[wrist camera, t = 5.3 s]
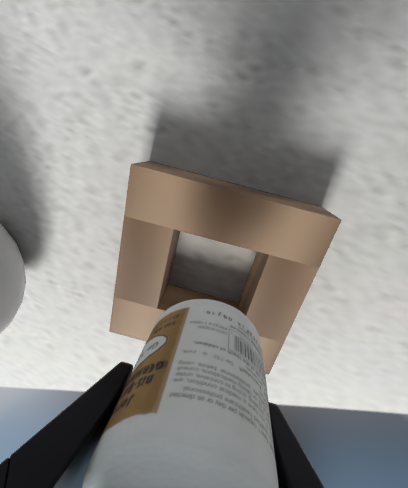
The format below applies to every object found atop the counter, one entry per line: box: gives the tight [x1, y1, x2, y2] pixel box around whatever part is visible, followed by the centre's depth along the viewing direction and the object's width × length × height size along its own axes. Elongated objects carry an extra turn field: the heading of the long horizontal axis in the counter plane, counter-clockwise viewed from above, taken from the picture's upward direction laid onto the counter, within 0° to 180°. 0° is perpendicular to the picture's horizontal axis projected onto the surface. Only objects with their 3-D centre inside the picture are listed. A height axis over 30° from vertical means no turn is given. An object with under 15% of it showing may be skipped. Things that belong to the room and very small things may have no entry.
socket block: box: [110, 161, 341, 374], centre depth 16 cm, size 11×11×4 cm
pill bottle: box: [82, 299, 279, 488], centre depth 7 cm, size 4×4×8 cm
